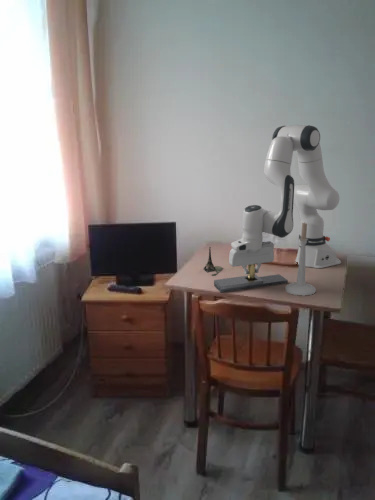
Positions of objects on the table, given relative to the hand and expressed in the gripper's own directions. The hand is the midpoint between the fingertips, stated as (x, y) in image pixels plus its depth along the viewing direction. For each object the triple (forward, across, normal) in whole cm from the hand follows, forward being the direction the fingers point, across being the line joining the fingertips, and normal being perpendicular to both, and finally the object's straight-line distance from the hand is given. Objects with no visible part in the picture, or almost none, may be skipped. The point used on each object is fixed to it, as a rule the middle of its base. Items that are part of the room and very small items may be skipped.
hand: (251, 273), depth 198 cm
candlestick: (+6, -17, +13) cm, 22 cm away
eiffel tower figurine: (+6, +11, -24) cm, 27 cm away
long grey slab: (+5, 0, 0) cm, 5 cm away
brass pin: (+5, 0, 0) cm, 5 cm away
